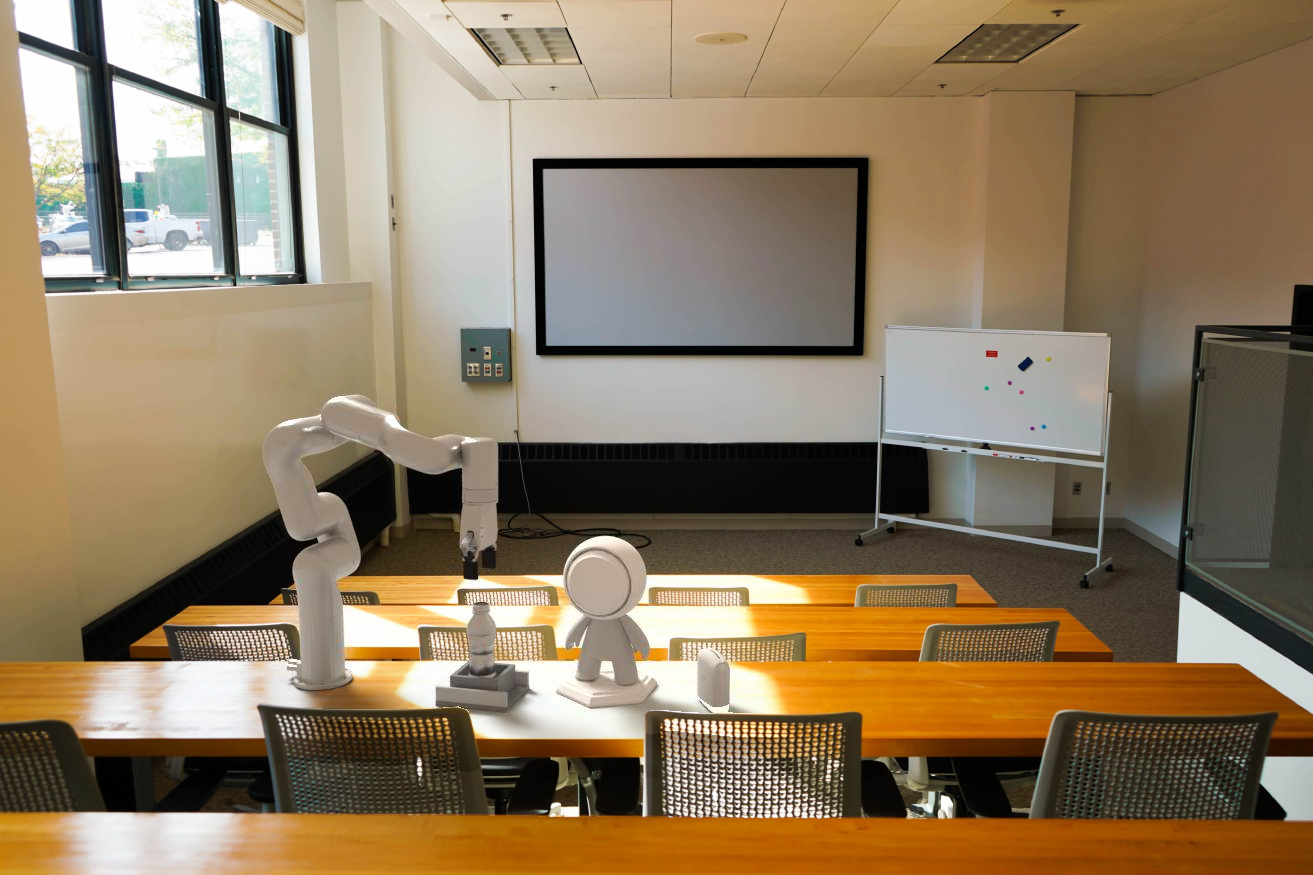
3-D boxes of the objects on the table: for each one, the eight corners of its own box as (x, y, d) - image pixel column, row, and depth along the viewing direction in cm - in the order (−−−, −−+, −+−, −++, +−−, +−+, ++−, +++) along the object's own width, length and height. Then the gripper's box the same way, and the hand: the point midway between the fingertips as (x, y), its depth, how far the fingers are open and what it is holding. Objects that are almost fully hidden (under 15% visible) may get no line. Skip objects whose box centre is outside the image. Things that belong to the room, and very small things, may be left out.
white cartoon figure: (545, 702, 209) (544, 543, 205) (583, 666, 231) (583, 522, 227) (633, 713, 204) (634, 550, 200) (664, 675, 226) (665, 528, 221)
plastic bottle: (502, 688, 214) (500, 600, 212) (491, 699, 208) (489, 609, 205) (474, 686, 216) (472, 598, 213) (462, 697, 209) (460, 607, 207)
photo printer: (694, 699, 212) (695, 644, 210) (712, 696, 213) (713, 642, 212) (713, 717, 202) (714, 659, 201) (732, 714, 204) (732, 657, 202)
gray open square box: (435, 705, 207) (435, 678, 207) (462, 681, 221) (462, 656, 220) (505, 712, 204) (505, 684, 203) (529, 688, 217) (529, 662, 217)
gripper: (479, 487, 216) (479, 562, 218) (446, 501, 200) (446, 582, 202) (511, 489, 215) (511, 565, 217) (480, 503, 198) (480, 585, 200)
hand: (480, 573), depth 209 cm, fingers open, 9 cm apart
